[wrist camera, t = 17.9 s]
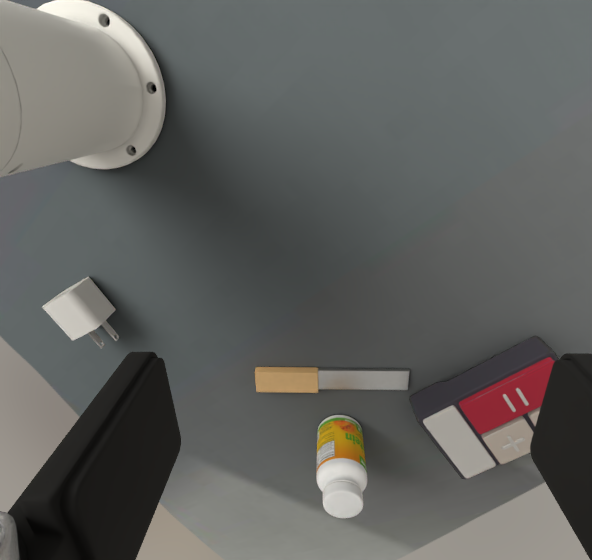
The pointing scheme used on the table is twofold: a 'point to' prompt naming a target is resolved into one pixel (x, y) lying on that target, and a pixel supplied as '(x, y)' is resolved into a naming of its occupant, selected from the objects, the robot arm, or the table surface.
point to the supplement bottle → (341, 465)
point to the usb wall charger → (82, 311)
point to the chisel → (328, 379)
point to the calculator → (487, 408)
